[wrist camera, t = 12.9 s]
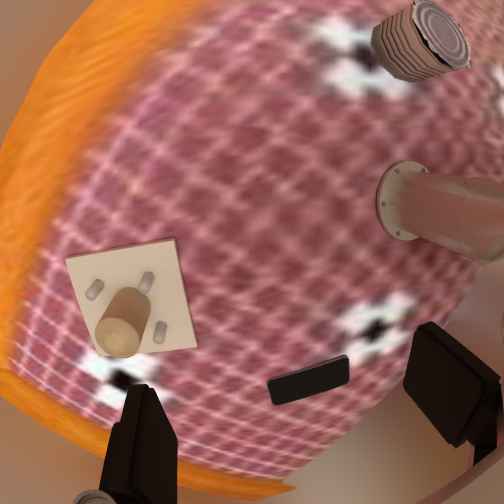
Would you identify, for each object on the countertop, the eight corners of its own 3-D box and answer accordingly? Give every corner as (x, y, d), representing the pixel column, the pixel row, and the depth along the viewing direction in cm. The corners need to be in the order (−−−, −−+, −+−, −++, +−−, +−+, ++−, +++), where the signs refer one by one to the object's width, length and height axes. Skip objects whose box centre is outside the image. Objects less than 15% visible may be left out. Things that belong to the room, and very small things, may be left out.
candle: (159, 306, 38) (147, 348, 28) (134, 329, 38) (119, 373, 29) (129, 278, 36) (108, 314, 26) (105, 303, 36) (82, 342, 27)
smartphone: (265, 380, 46) (349, 355, 46) (264, 376, 47) (346, 351, 47) (273, 406, 48) (349, 383, 49) (272, 402, 49) (347, 379, 50)
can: (364, 61, 34) (412, 37, 22) (374, 11, 31) (415, -17, 20) (420, 94, 36) (472, 85, 25) (426, 44, 33) (472, 28, 22)
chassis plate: (175, 237, 37) (170, 247, 32) (197, 341, 42) (197, 361, 37) (69, 255, 35) (54, 267, 30) (101, 351, 40) (93, 369, 35)
